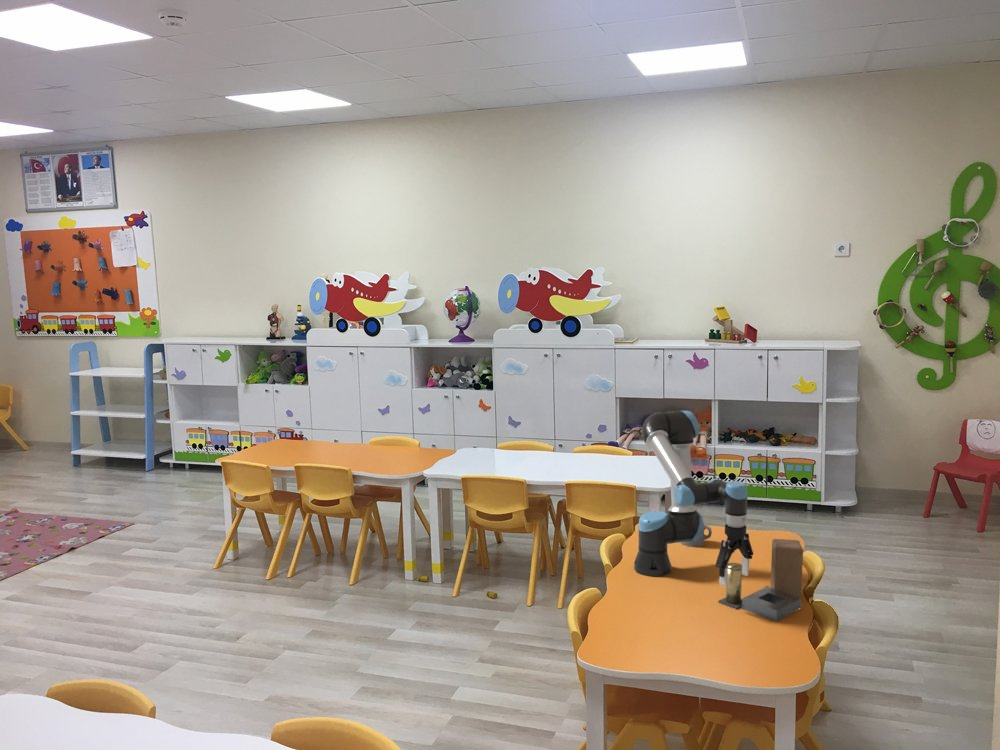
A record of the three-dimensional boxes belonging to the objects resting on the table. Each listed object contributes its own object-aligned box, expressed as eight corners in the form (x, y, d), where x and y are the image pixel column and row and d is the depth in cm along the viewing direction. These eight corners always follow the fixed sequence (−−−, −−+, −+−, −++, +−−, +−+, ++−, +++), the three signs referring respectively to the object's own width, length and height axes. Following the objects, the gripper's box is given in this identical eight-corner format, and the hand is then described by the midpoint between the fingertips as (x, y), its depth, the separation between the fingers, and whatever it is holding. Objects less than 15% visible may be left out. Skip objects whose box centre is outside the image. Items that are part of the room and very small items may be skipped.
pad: (717, 602, 302) (717, 600, 302) (730, 596, 307) (730, 595, 307) (736, 609, 296) (736, 607, 296) (749, 603, 301) (749, 601, 301)
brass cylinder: (722, 601, 302) (723, 565, 300) (731, 597, 305) (732, 561, 303) (735, 605, 298) (736, 569, 296) (743, 601, 301) (745, 565, 299)
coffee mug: (678, 545, 362) (679, 523, 361) (682, 538, 371) (683, 517, 370) (709, 548, 357) (710, 527, 356) (712, 541, 366) (713, 520, 365)
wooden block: (801, 599, 304) (803, 548, 301) (773, 598, 306) (775, 547, 303) (797, 589, 313) (799, 539, 310) (770, 587, 315) (771, 537, 312)
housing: (741, 608, 297) (742, 598, 296) (766, 596, 307) (767, 586, 306) (776, 621, 286) (776, 610, 285) (800, 608, 296) (801, 598, 295)
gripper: (723, 534, 287) (722, 591, 290) (764, 519, 302) (762, 573, 305) (706, 529, 292) (705, 585, 296) (746, 514, 308) (744, 568, 311)
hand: (734, 579), depth 300 cm, fingers open, 13 cm apart
